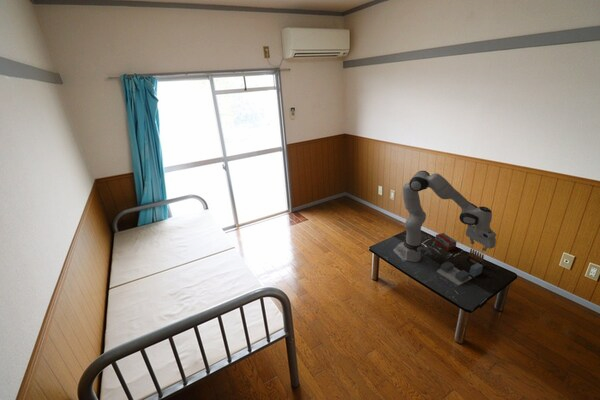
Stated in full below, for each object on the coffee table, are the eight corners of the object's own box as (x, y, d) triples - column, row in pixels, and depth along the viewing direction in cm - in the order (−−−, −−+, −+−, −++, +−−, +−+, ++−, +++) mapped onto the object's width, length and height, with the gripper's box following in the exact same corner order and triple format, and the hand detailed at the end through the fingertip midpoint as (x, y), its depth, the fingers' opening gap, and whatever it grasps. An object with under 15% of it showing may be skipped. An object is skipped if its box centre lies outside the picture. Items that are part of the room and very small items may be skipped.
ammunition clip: (466, 260, 220) (469, 248, 215) (468, 260, 220) (471, 247, 215) (480, 268, 211) (483, 255, 206) (482, 267, 212) (485, 254, 207)
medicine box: (455, 249, 234) (457, 241, 231) (447, 251, 232) (449, 243, 229) (441, 240, 247) (442, 232, 244) (434, 242, 245) (435, 234, 242)
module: (468, 274, 206) (470, 266, 203) (475, 270, 209) (477, 262, 206) (474, 277, 203) (476, 269, 200) (481, 273, 206) (483, 265, 203)
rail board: (436, 271, 211) (437, 265, 208) (449, 265, 216) (450, 259, 214) (458, 285, 196) (460, 279, 194) (471, 278, 202) (473, 272, 199)
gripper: (464, 224, 198) (462, 241, 203) (491, 238, 180) (487, 255, 185) (471, 222, 199) (468, 238, 205) (498, 235, 181) (495, 253, 187)
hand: (478, 247), depth 195 cm, fingers open, 8 cm apart
